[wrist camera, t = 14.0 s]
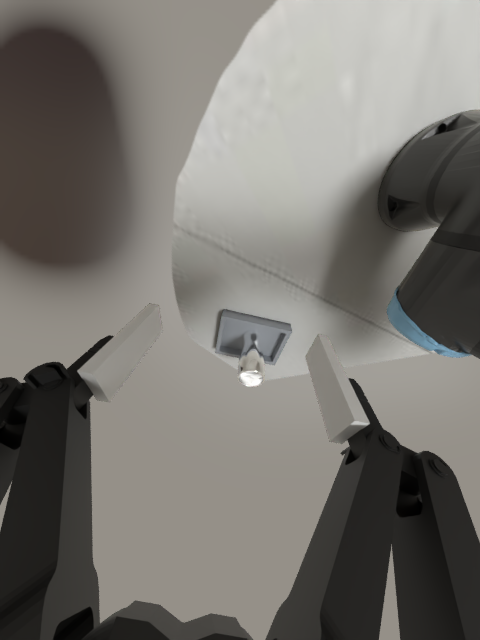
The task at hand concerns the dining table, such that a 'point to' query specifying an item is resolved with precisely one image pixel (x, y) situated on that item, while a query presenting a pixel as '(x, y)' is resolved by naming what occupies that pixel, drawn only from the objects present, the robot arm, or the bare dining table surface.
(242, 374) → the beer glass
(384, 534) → the robot arm
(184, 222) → the dining table surface
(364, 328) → the dining table surface
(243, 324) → the tray
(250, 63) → the dining table surface
